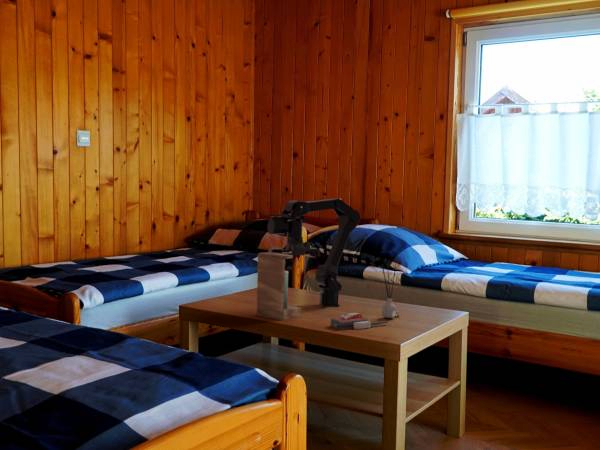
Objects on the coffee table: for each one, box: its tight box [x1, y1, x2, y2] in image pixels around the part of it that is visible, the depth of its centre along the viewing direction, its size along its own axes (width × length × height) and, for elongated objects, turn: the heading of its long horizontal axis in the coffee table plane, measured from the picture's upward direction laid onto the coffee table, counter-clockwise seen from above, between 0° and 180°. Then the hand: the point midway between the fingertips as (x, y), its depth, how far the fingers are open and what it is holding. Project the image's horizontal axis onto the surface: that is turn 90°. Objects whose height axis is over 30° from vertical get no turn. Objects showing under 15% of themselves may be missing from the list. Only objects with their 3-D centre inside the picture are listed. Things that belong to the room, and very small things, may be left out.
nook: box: [256, 251, 303, 321], centre depth 233 cm, size 11×12×22 cm
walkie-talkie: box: [330, 312, 388, 331], centre depth 220 cm, size 9×4×20 cm
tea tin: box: [284, 270, 289, 308], centre depth 233 cm, size 5×5×13 cm
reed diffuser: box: [381, 263, 401, 319], centre depth 233 cm, size 10×7×20 cm
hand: (293, 274), depth 245 cm, fingers open, 9 cm apart
